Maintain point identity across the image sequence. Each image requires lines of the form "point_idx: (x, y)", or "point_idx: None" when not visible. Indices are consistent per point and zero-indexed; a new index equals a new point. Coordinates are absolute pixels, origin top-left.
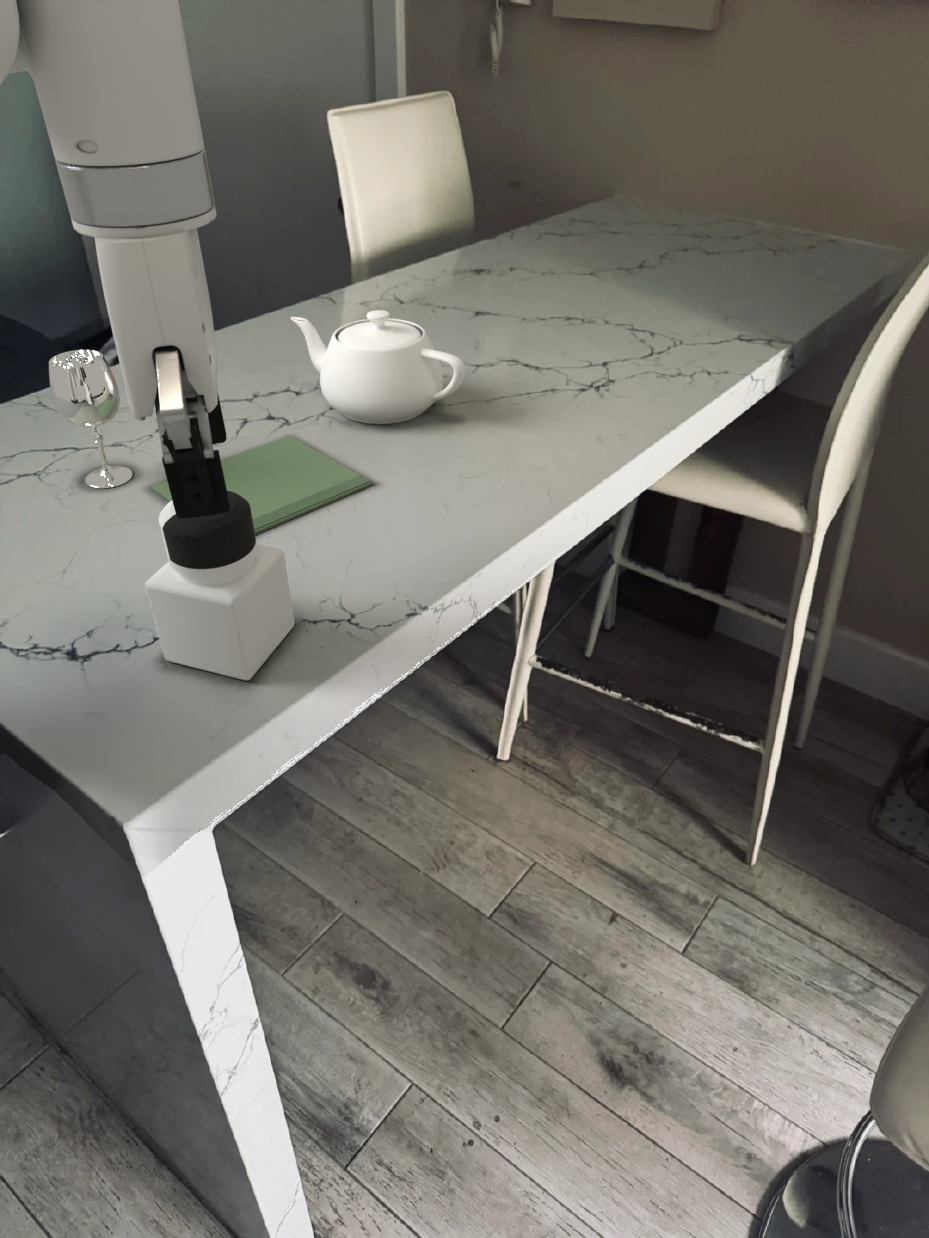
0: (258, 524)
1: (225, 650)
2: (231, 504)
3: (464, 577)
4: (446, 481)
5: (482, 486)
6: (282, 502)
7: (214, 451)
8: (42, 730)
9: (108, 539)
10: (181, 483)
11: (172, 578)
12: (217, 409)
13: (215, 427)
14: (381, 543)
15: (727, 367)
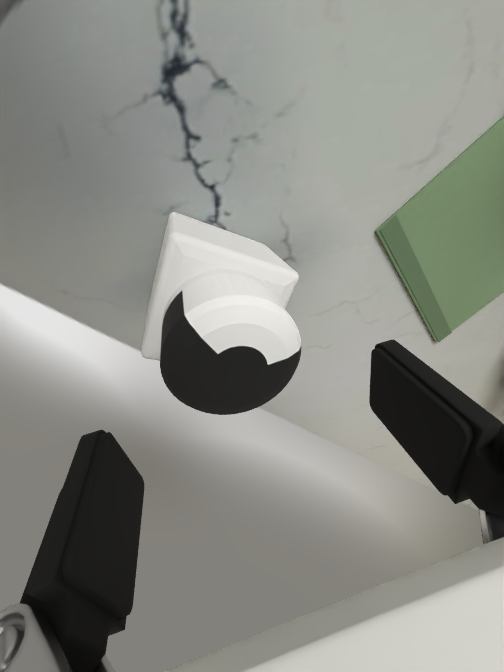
0: (401, 257)
1: (149, 303)
2: (237, 405)
3: (290, 420)
4: None
5: None
6: (433, 271)
7: (113, 629)
8: (10, 70)
9: (435, 45)
10: (39, 550)
11: (180, 276)
12: (413, 458)
13: (388, 421)
14: (345, 363)
15: None
